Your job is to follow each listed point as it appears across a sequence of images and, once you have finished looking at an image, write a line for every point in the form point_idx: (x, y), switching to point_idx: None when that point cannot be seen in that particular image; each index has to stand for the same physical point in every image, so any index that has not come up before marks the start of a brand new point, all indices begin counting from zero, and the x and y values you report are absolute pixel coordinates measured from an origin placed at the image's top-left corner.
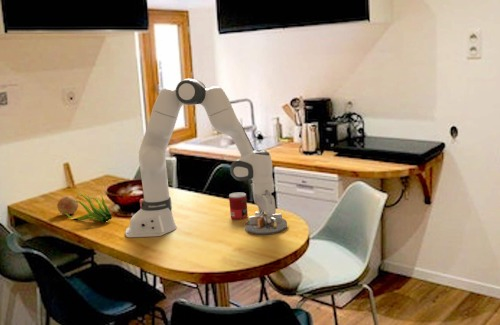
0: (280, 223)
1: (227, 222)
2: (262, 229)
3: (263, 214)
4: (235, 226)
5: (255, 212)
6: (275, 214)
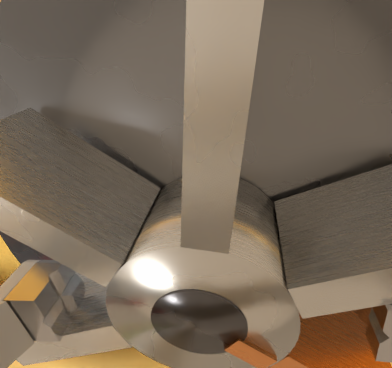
0: (316, 45)
1: (43, 362)
2: None
3: (147, 330)
4: (121, 353)
5: (31, 360)
6: (223, 167)
